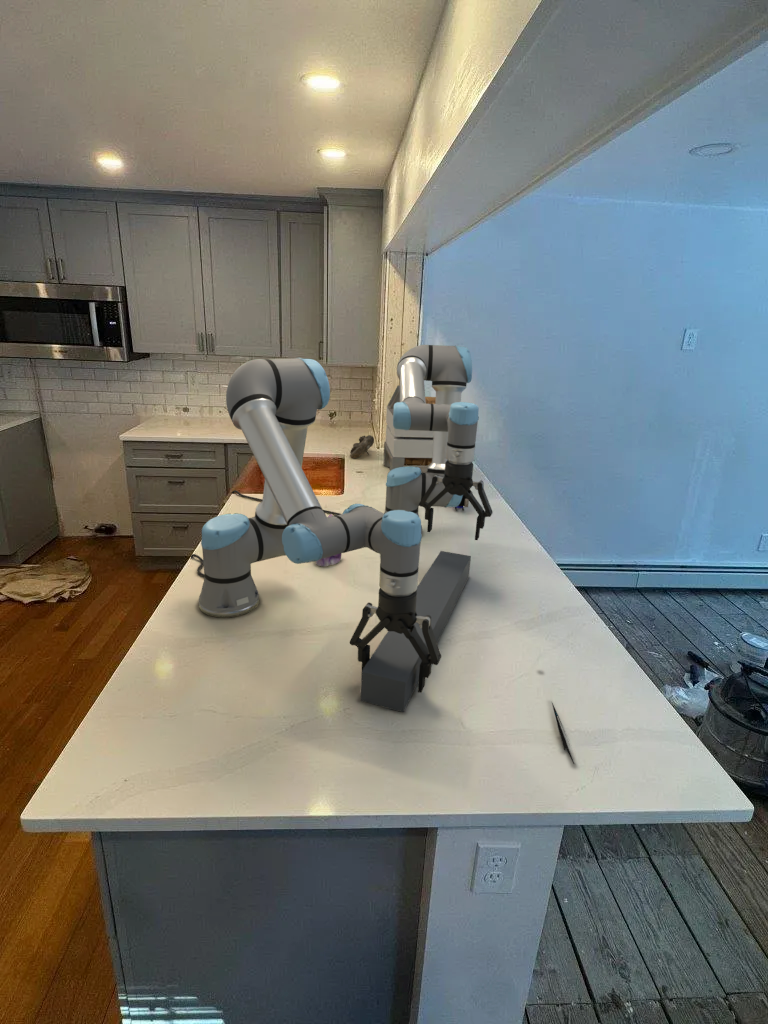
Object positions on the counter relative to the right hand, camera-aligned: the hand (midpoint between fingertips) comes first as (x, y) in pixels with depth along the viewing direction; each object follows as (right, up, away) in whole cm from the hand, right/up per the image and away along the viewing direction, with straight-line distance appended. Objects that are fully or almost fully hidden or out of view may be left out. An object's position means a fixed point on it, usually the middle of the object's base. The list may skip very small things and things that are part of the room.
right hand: (452, 534), depth 159 cm
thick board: (-9, -22, -18) cm, 30 cm away
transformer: (-2, +25, +115) cm, 118 cm away
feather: (+15, -34, -46) cm, 59 cm away
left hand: (-18, -29, -41) cm, 53 cm away
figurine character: (+11, +8, +71) cm, 72 cm away
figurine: (-37, -9, +17) cm, 41 cm away
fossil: (-31, +37, +145) cm, 153 cm away
